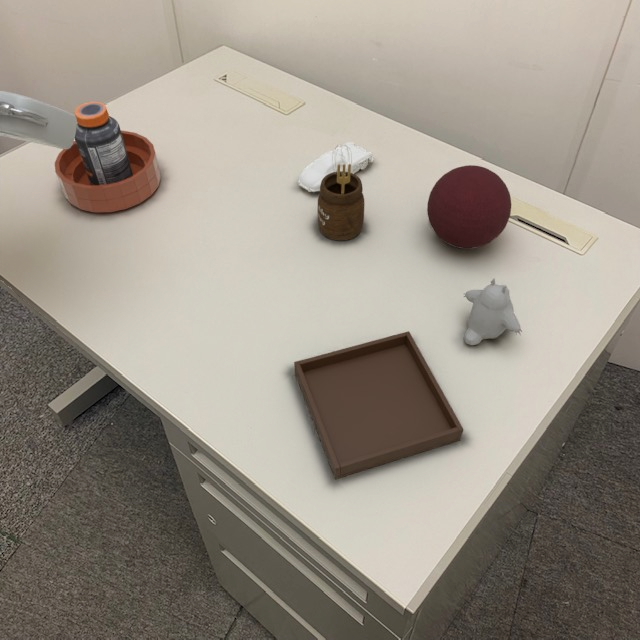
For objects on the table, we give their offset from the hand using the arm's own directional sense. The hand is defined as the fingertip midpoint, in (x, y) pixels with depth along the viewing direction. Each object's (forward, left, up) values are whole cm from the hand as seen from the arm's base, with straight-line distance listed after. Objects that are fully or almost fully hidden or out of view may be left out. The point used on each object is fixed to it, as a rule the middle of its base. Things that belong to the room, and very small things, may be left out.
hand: (27, 128), depth 73 cm
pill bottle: (+7, +8, -15) cm, 18 cm away
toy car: (+37, 0, -15) cm, 40 cm away
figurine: (+43, -33, -15) cm, 56 cm away
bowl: (+7, +8, -15) cm, 18 cm away
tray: (+28, -38, -15) cm, 50 cm away
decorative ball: (+48, -18, -15) cm, 53 cm away
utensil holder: (+34, -11, -15) cm, 39 cm away
